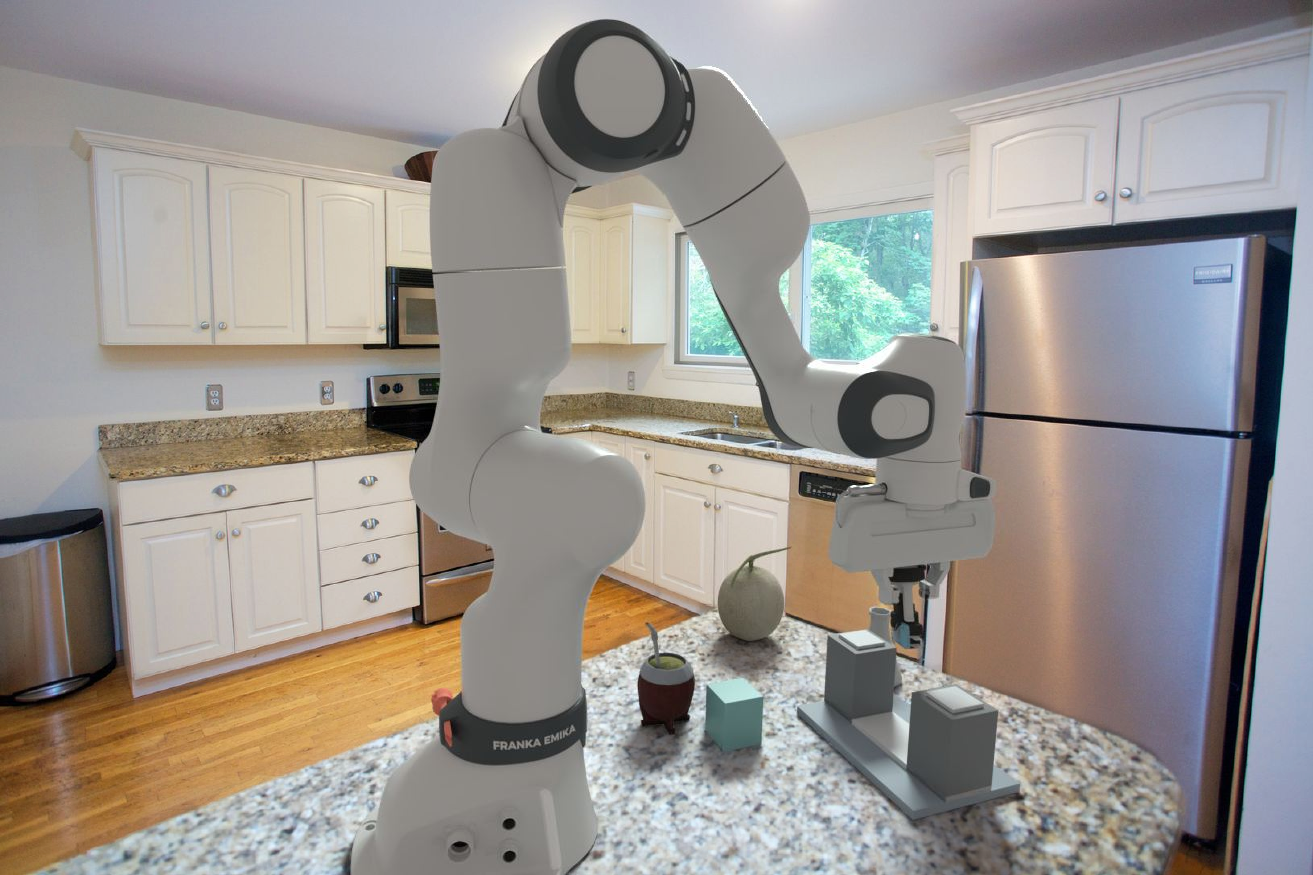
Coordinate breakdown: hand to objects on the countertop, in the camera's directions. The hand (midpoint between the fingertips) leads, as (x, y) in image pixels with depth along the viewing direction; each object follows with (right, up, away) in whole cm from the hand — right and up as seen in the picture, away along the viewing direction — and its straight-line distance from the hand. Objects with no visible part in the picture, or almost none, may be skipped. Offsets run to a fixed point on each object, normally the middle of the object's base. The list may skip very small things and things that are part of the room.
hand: (908, 600), depth 83 cm
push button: (0, -5, 0) cm, 5 cm away
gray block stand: (0, -18, +3) cm, 18 cm away
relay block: (-19, -12, +4) cm, 23 cm away
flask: (+3, -16, +21) cm, 26 cm away
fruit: (-14, -14, +33) cm, 39 cm away
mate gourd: (-28, -17, +7) cm, 33 cm away
